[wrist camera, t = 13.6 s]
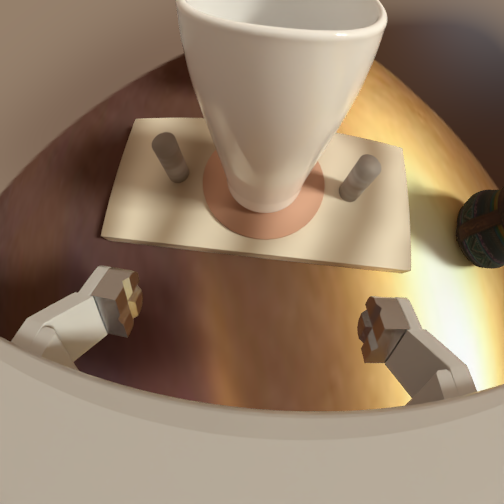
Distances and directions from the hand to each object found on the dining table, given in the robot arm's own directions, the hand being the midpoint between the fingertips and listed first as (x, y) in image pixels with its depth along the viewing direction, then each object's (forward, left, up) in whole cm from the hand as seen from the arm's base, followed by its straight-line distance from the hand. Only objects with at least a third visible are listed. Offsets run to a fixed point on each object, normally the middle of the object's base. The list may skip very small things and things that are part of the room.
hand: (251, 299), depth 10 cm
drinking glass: (0, +9, -9) cm, 13 cm away
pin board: (0, +9, -11) cm, 14 cm away
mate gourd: (+21, +8, -11) cm, 25 cm away
